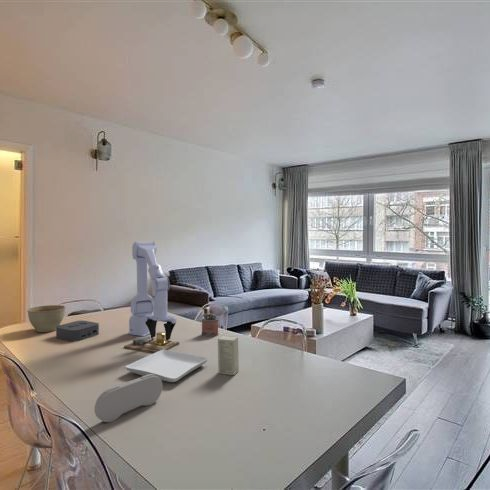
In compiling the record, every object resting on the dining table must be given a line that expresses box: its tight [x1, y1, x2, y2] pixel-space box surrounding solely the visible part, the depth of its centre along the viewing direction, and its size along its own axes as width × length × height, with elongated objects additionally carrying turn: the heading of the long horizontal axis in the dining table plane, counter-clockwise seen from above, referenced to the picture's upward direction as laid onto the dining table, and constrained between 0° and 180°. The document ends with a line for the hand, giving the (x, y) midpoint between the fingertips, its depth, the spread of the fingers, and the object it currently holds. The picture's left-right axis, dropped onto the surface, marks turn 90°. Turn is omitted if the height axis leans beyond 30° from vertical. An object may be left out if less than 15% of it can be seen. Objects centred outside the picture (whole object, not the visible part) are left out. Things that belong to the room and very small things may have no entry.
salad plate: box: [124, 349, 209, 383], centre depth 125 cm, size 21×21×3 cm
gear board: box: [123, 335, 180, 354], centre depth 151 cm, size 18×14×2 cm
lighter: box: [201, 313, 219, 337], centre depth 168 cm, size 8×3×10 cm, turn 84°
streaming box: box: [55, 320, 100, 342], centre depth 165 cm, size 14×14×5 cm
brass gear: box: [154, 331, 168, 346], centre depth 150 cm, size 6×6×5 cm
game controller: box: [94, 374, 163, 423], centre depth 96 cm, size 20×2×8 cm, turn 140°
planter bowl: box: [27, 304, 66, 333], centre depth 174 cm, size 16×16×11 cm
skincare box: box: [217, 335, 240, 376], centre depth 123 cm, size 6×4×12 cm
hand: (160, 338), depth 149 cm, fingers open, 7 cm apart
